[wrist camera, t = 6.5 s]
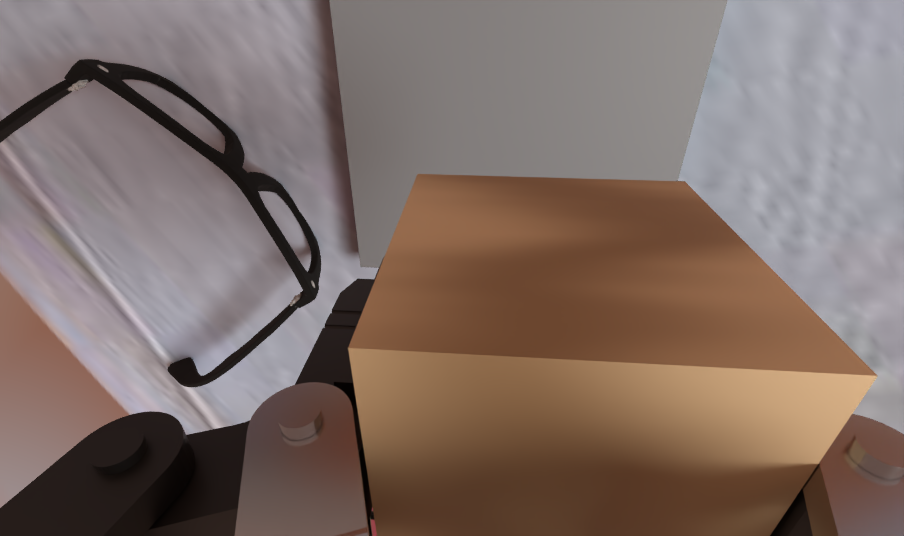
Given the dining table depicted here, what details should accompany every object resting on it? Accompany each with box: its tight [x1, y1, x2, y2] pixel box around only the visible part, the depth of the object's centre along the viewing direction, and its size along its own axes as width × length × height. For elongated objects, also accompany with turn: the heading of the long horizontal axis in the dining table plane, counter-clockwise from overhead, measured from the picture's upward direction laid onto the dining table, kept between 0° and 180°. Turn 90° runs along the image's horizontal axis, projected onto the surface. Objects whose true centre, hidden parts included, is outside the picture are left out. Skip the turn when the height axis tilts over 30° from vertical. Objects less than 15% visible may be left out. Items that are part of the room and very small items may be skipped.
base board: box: [329, 0, 727, 268], centre depth 22 cm, size 16×16×2 cm
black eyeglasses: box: [0, 59, 321, 387], centre depth 26 cm, size 16×18×5 cm
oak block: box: [348, 174, 877, 536], centre depth 8 cm, size 5×5×5 cm
